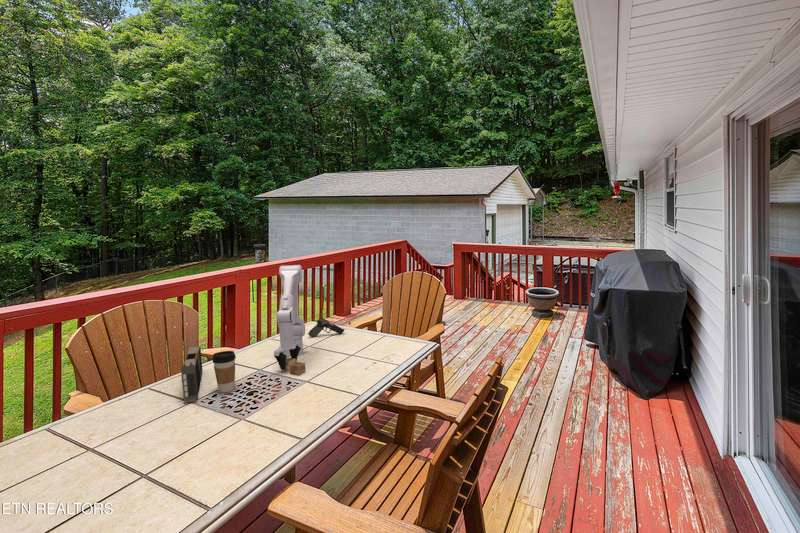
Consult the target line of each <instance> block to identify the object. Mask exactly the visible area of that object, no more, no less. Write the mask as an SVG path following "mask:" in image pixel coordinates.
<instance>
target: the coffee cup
mask: <svg viewBox="0 0 800 533" xmlns="http://www.w3.org/2000/svg"><path fill="white" fill-rule="evenodd" d="M211 361H212V363H213V368H214V370H213V371H214V374H215V380H216V384H217V390H218V392H219V393H221V394H223V393H224V394H225V393H230V392H232V391H234V390H236V389H235V387H236V384H235V383H236V354H235V351H234V350H233V351H232V350H223V351H219V352H215V353H213V354H212V360H211Z"/></svg>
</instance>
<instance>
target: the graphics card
mask: <svg viewBox="0 0 800 533" xmlns="http://www.w3.org/2000/svg"><path fill="white" fill-rule="evenodd" d="M201 351H202V350H201V346H191V347H189V348H188V351H187V352H186V353H187V354H186V355H187V356H186V359H185V361H184V363H183V364H182V366H181V367H180V372H181V382H182V392H183V399H184V402H183V403H184V404H187V403H188V404H190V403H194V402H198V400H197V399H199V395H200V389H201V384H200V383H201V382H202V377H203V360H202V352H201ZM198 394H199V395H198ZM196 398H197V399H196Z"/></svg>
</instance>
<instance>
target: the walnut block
mask: <svg viewBox="0 0 800 533" xmlns="http://www.w3.org/2000/svg"><path fill="white" fill-rule="evenodd" d="M305 371H306V363H305V362H300V361H297V362H295V363H293V364H291V365H290V371H289V373H290V374H291V375H296V376H300V375H301V374H303V373H305ZM300 377H301V376H300Z"/></svg>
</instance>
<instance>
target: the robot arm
mask: <svg viewBox="0 0 800 533" xmlns="http://www.w3.org/2000/svg"><path fill="white" fill-rule="evenodd" d="M278 270H279V271H278V274H279V278H280V280H281V281H282V283H283V294H282V295H281V296H280V299H279V309H278V311H277V313H276V321H277V326H278V330H279V331H278V332H279V344H280V345H279V347H277V349H275V350H273V356H274V358H275V359H276V361H277V363H278V366H279V369H280V370H282V371H286V370H285V362H286V358H287V357H288V356H290V358H294V359H296V362H298V357H299V356H302V355H305V354H306V353H308V352H307V351H305V350H304V346H303V345H304V344H303V342H304V341H303V340H304V339H303V337H305V335H306V325H305V320H304V319H303V318H302V317H300V315H299V283H301V282H303V281H302V280H303V268H302V265H300V264H293V265H292V264H291V265H290V264H289V265H280V266H279V269H278Z"/></svg>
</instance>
